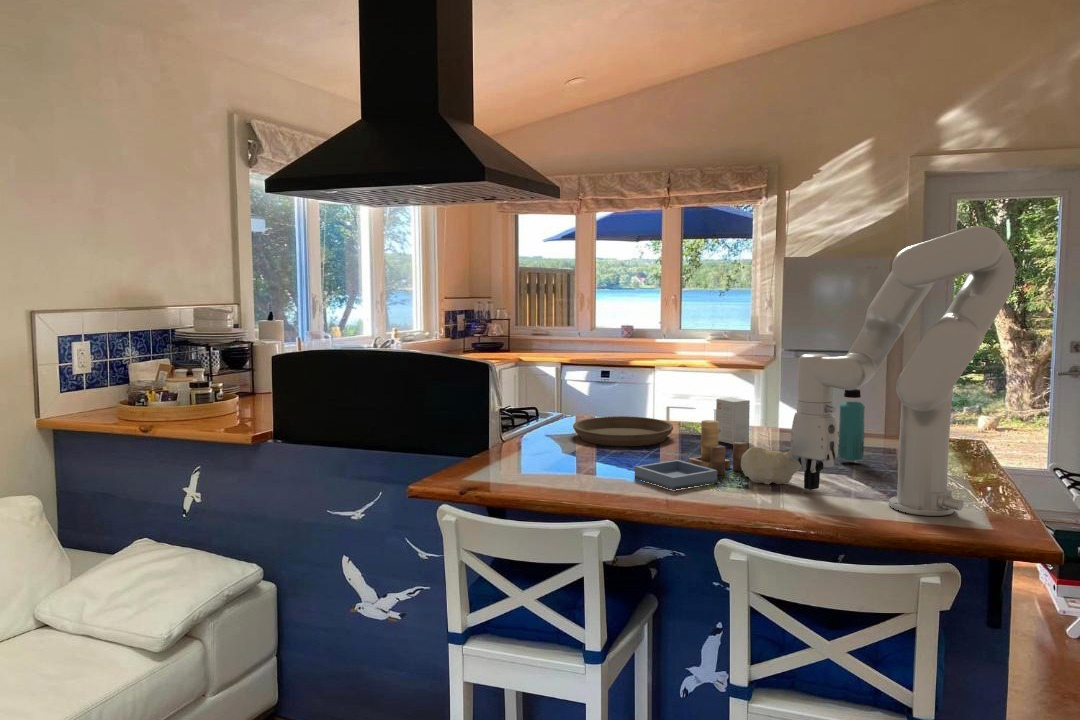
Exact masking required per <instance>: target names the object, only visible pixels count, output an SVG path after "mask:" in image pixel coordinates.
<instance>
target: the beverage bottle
mask: <svg viewBox="0 0 1080 720" xmlns="http://www.w3.org/2000/svg"><path fill="white" fill-rule="evenodd" d="M843 397H844V398H849V399H850V398H852V399H859V398H860V399H861V397H862V396H861V390H860V389H859V388H858V389H855V390H844V394H843ZM865 435H866V434H865V405H864V403H862V402H861V401H859V400H858V401H857V400H856V401H855V400H844V401H842V402H841V403H840V405H839V424H838V458H839V459H844V460H848V461H849V460H850V461H860V460H861V461H862V460H863V459H864V454H865Z"/></svg>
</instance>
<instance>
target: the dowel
mask: <svg viewBox="0 0 1080 720" xmlns="http://www.w3.org/2000/svg"><path fill="white" fill-rule="evenodd" d="M700 429H701V431H700V432H701V433H700V437H701V438H700V457H701V461H705V462H709V463H710V455H711V446H713V445H719V441H718V436H719V422H718V421H716V420H710V419H706V420H702V421H701V428H700Z"/></svg>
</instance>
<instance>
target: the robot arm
mask: <svg viewBox="0 0 1080 720" xmlns="http://www.w3.org/2000/svg"><path fill="white" fill-rule="evenodd" d="M1013 257H1014V256H1012V253H1011V251H1010V249H1009V247H1008V246H1007V245H1006V243H1005V242H1004V240H1003V239H1002V237H1001V236H1000V235H999V234H998V233H997V232H996V231H995V230H994V229H992V228H990V227H987V226H984V225H983V226H982V225H973V226H969V227H965V228H962V229H959V230H956V231H954V232H951V233H948V234H945V235H942V236H938V237H935V238H932V239H930V240H926V241H923V242H920V243H916V244H913V245H909V246H906V247H904V248H903V249H901V250H900V251H898V253H897V254H896V255H895V257H894V259H893V261H892V265H891V271H890V273H889V274H888V276H887V278H886V279H885V281H884V282H883V284H882V286H881V287H880V289H879V290H878V292H877V293H876V295H875V296H874V298H873V300H872V301H871V303H870V304H869V305H868V308H867V310H866V315H865V321H864V324H863V326H862V328H861V331H860V332H859V334H858V336H857V338H856V339H855V340H854V342H853V344H852V346H851V347H850V348H849V350H848V352H847V353H846V354H845V355H844V356H831V355H830V354H826V353H825V354H824V353H805V354H801V356H800V357H799V358H798V364H797V365H798V367H797V392H796V393H797V394H796V396H797V398H796V412H795V413H794V415H793V420H792V424H791V431H790V432H791V433H790V447H789V448H791V449H790V450H791V452H792V458H793V459H795V460H797V461H799V463H800V464H801V466H802V467H801V470H802V471H803V474H804V476H803V477H804V478H803V487H804V488H803V489H805V490H810V491H812V490H817V489H820V478H821V476H820V475H821V472H823V469H826V468H830V467H834V466H835V460H836V459H838V458H839V455H838V454H839V453H838V452H839V447H838V444H839V437H838V436H839V434H838V433H839V431H838V426H837V425H838V423H837V420H836V417H835V415H832V414H833V413H835V412H836V411H837V409H836V407H835V406H833V389H839V390H844V391H845V390H855V389H859V388H861V387H862V386H864V385H866V384H867V383H869V382H870V381H871V380H872V378H873V377H874V376H875V374H876V373H877V371H878V370H879V368H880V367H881V366H882V364H883V362H884V361H885V360H886V358H887V356H888V355H889V354H890V352H891V350H892V348H893V347H894V345H895V344H896V342H897V340H898V339H899V338H900V337H901V335H902V334H903V332H904V331H905V329H906V328H907V326H908V324H909V323H910V321H911V320H912V318H913V316H914V315H915V313H916V312H917V310H918V308H919V307H920V305H921V304H922V302H923V301H924V299H925V297H926V296H927V295H928V293H929V292H930V290H931V289H932V288H933V286H934V284H935V283H937V282H942V281H946V280H949V279H952V278H956V277H958V276H959V277H960V276H963V275H966V278H965V281H964V282H963V284H962V286H961V287H960V289H959V290H958V292H957V294H956V295H955V297H954V299H953V301H952V302H951V304H950V305H949V307H948V309H947V310H946V311H945V313H944V314H943V316H942V317H941V318H940V319H938V320H937V321H935V322H934V323H933V324H931V326H930V327H929V329H928V330H927V331H926V333H925V334H924V336H923V337H922V338H921V340H920V342H919V343H918V345H917V347H916V349H915V350H914V352H913V353H912V355H911V357H909V359H908V361H907V363H906V365H905V366H904V367H903V369H902V371H901V372H900V374H899V376H898V378H897V379H896V380H897V381H896V384H895V385H896V387H895V388H896V395H897V397H898V398H899V400H900V402H901V407H900V408H901V410H900V419H899V420H900V421H899V442H898V462H897V463H898V464H897V466H898V467H897V470H898V471H897V484H896V485H897V488H896V496H892V497H890V498H889V499H888V505H889V507H890V506H891V507H890V508H892V509H893V508H894V510H896V511H898V510H899V512H902V513H905V512H906V513H907V514H910V515H911V514H912V515H916V516H917V515H918V516H926V517H940V516H941V517H942V516H948V515H952V514H953V513H954V512H955V510H956V511H962V510H963V508H964V500H963V499H959V498H956V497H953V496H952V495H953V494H952V492H953V491H952V490H951V489H948V472H949V471H948V469H949V453H950V452H949V448H950V447H949V446H950V435H951V434H950V433H951V432H950V431H951V417H952V402H953V393H954V387H955V385H956V384H957V382H958V380H959V379H960V377H961V376H962V374H963V373H964V372H965V371H966V368H967V367H968V366H969V364H970V362H971V361H972V360H973V358H974V356H975V355H976V353H977V352H978V351H979V349H980V347H981V345H982V342H983V339H984V337H985V336H986V334H987V333H988V331H989V329H990V328H991V326H992V324H993V323H995V320H996V318H997V316H998V315H999V313H1001V312H1000V311H1001V310H1002V308H1003V306H1004V305H1005V303H1006V302H1007V300H1008V298H1009V296H1010V294H1011V292H1012V291H1013V287H1014V283H1015V279H1016V267H1015V266H1016V265H1015V261H1014V258H1013Z"/></svg>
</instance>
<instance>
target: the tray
mask: <svg viewBox="0 0 1080 720" xmlns="http://www.w3.org/2000/svg"><path fill="white" fill-rule="evenodd" d="M717 473H718V470H714V469H710V468H707V467H703V466H699V465H695V464H692V463H688V462H687V461H683V460H680V459H674V460H673V459H672V460H667V461H661V462H655V463H647V464H640V465H635V466H634V480H635V479H638V480H637V481H639V480H642V481H645V482H649V483H652V484H656V485H659V486H662V487H665V488H668V489H672V490H676V489H681V488H688V487H694V486H700V485H705V484H712V483H717V484H718V476H717ZM642 481H641V482H642ZM645 482H644V483H645ZM712 485H713V484H712Z"/></svg>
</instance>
